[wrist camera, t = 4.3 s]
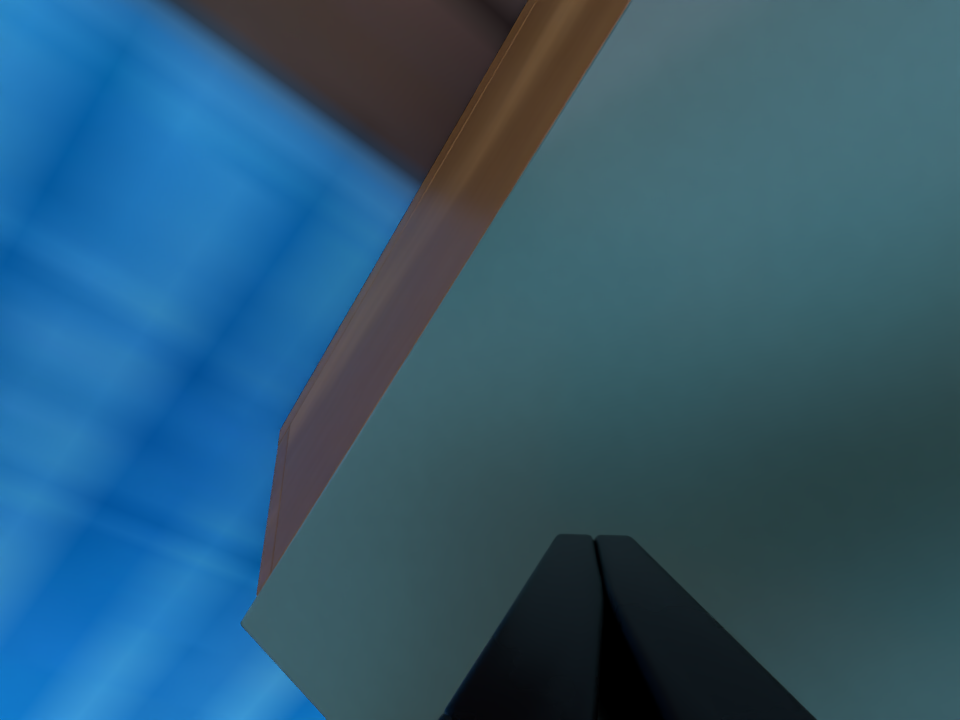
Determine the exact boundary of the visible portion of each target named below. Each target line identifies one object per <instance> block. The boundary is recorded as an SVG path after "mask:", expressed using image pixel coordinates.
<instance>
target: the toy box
mask: <svg viewBox="0 0 960 720" xmlns="http://www.w3.org/2000/svg"><path fill="white" fill-rule="evenodd" d="M630 1H631V0H528V1H527V3H526V5H525V7H524V8H523V10H522V12H521V13H520V15H519V17H518V19H517V20H516V22H515V24H514V26H513V27H512V29H511V31H510V33H509V34H508V36H507V38H506V39H505V41H504V43H503V45H502V46H501V48H500V50H499V52H498V53H497V55H496V57H495V59H494V60H493V62H492V64H491V65H490V67H489V69H488V71H487V72H486V74H485V76H484V78H483V79H482V81H481V83H480V85H479V86H478V88H477V90H476V91H475V93H474V95H473V97H472V98H471V100H470V102H469V104H468V105H467V107H466V109H465V111H464V112H463V114H462V116H461V117H460V119H459V121H458V123H457V124H456V126H455V128H454V130H453V131H452V133H451V135H450V136H449V138H448V140H447V142H446V143H445V145H444V147H443V149H442V150H441V152H440V154H439V156H438V157H437V159H436V161H435V162H434V164H433V166H432V168H431V169H430V171H429V173H428V175H427V176H426V178H425V180H424V182H423V183H422V185H421V187H420V188H419V190H418V192H417V194H416V195H415V197H414V199H413V201H412V202H411V204H410V206H409V208H408V209H407V211H406V213H405V214H404V216H403V218H402V220H401V221H400V223H399V225H398V227H397V228H396V230H395V232H394V234H393V235H392V237H391V239H390V240H389V242H388V244H387V246H386V247H385V249H384V251H383V253H382V254H381V256H380V258H379V260H378V261H377V263H376V265H375V266H374V268H373V270H372V272H371V273H370V275H369V277H368V279H367V280H366V282H365V284H364V286H363V287H362V289H361V291H360V292H359V294H358V296H357V298H356V299H355V301H354V303H353V305H352V306H351V308H350V310H349V312H348V313H347V315H346V317H345V318H344V320H343V322H342V324H341V325H340V327H339V329H338V331H337V332H336V334H335V336H334V338H333V339H332V341H331V343H330V344H329V346H328V348H327V350H326V351H325V353H324V355H323V357H322V358H321V360H320V362H319V363H318V365H317V367H316V369H315V370H314V372H313V374H312V376H311V377H310V379H309V381H308V383H307V384H306V386H305V388H304V389H303V391H302V393H301V395H300V396H299V398H298V400H297V402H296V403H295V405H294V407H293V409H292V410H291V412H290V414H289V415H288V417H287V419H286V421H285V422H284V424H283V426H282V428H281V429H280V434H279V441H278V449H277V456H276V463H275V470H274V477H273V484H272V491H271V498H270V505H269V511H268V518H267V525H266V532H265V539H264V546H263V553H262V560H261V567H260V574H259V580H258V587H257V596H258V594H259V592H260V591H261V589H262V588H263V586H264V584H265V583H266V581H267V580H268V578H269V576H270V575H271V573H272V572H273V570H274V568H275V567H276V565H277V564H278V562H279V560H280V559H281V557H282V556H283V554H284V552H285V551H286V549H287V548H288V546H289V544H290V543H291V541H292V540H293V538H294V537H295V535H296V533H297V532H298V530H299V529H300V527H301V525H302V524H303V522H304V521H305V519H306V517H307V516H308V514H309V513H310V511H311V509H312V508H313V506H314V505H315V503H316V501H317V500H318V498H319V497H320V495H321V493H322V492H323V490H324V489H325V487H326V486H327V484H328V482H329V481H330V479H331V478H332V476H333V474H334V473H335V471H336V470H337V468H338V466H339V465H340V463H341V462H342V460H343V458H344V457H345V455H346V454H347V452H348V450H349V449H350V447H351V446H352V444H353V442H354V441H355V439H356V438H357V436H358V434H359V433H360V431H361V430H362V428H363V427H364V425H365V423H366V422H367V420H368V419H369V417H370V415H371V414H372V412H373V411H374V409H375V407H376V406H377V404H378V403H379V401H380V399H381V398H382V396H383V395H384V393H385V391H386V390H387V388H388V387H389V385H390V383H391V382H392V380H393V379H394V377H395V376H396V374H397V372H398V371H399V369H400V368H401V366H402V364H403V363H404V361H405V360H406V358H407V356H408V355H409V353H410V352H411V350H412V348H413V347H414V345H415V344H416V342H417V340H418V339H419V337H420V336H421V334H422V332H423V331H424V329H425V328H426V326H427V324H428V323H429V321H430V320H431V318H432V317H433V315H434V313H435V312H436V310H437V309H438V307H439V305H440V304H441V302H442V301H443V299H444V297H445V296H446V294H447V293H448V291H449V289H450V288H451V286H452V285H453V283H454V281H455V280H456V278H457V277H458V275H459V273H460V272H461V270H462V269H463V267H464V266H465V264H466V262H467V261H468V259H469V258H470V256H471V254H472V253H473V251H474V250H475V248H476V246H477V245H478V243H479V242H480V240H481V238H482V237H483V235H484V234H485V232H486V230H487V229H488V227H489V226H490V224H491V222H492V221H493V219H494V218H495V216H496V214H497V213H498V211H499V210H500V208H501V207H502V205H503V203H504V202H505V200H506V199H507V197H508V195H509V194H510V192H511V191H512V189H513V187H514V186H515V184H516V183H517V181H518V179H519V178H520V176H521V175H522V173H523V171H524V170H525V168H526V167H527V165H528V163H529V162H530V160H531V159H532V157H533V156H534V154H535V152H536V151H537V149H538V148H539V146H540V144H541V143H542V141H543V140H544V138H545V136H546V135H547V133H548V132H549V130H550V128H551V127H552V125H553V124H554V122H555V120H556V119H557V117H558V116H559V114H560V112H561V111H562V109H563V108H564V106H565V104H566V103H567V101H568V100H569V98H570V97H571V95H572V93H573V92H574V90H575V89H576V87H577V85H578V84H579V82H580V81H581V79H582V77H583V76H584V74H585V73H586V71H587V69H588V68H589V66H590V65H591V63H592V61H593V60H594V58H595V57H596V55H597V53H598V52H599V50H600V49H601V47H602V46H603V44H604V42H605V41H606V39H607V38H608V36H609V34H610V33H611V31H612V30H613V28H614V26H615V25H616V23H617V22H618V20H619V18H620V17H621V15H622V14H623V12H624V10H625V9H626V7H627V6H628V4H629V2H630Z"/></svg>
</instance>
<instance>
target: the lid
mask: <svg viewBox="0 0 960 720" xmlns="http://www.w3.org/2000/svg"><path fill="white" fill-rule="evenodd" d="M558 534H587V535H590V536H592V538H593V539H595V537H596V536H598V535H627V536H630V537H632V538H633V539H634V540H635V541H636V542H637V543H638V544H639V545H640V546H641V547H642V548H643V549H644V550H645V551H646V552H647V553H648V554H649V555H650V556H652V557H653V558H654V559H655V560H656V561H657V562H658V563H659V564H660V565H661V566H662V567H663V568H664V569H665V570H666V571H667V572H668V573H669V574H670V575H671V576H672V577H673V578H674V579H675V580H676V581H677V582H678V583H679V584H680V585H681V586H682V587H683V588H684V589H685V590H686V591H687V592H688V593H689V594H690V595H691V596H692V597H693V598H694V599H695V600H696V601H697V602H698V603H699V604H700V605H701V606H702V607H703V608H704V609H705V610H706V611H707V612H708V613H709V614H710V615H711V616H712V617H713V618H714V619H715V620H716V621H718V622H719V623H720V624H721V625H722V626H723V627H724V628H725V629H726V630H727V631H728V632H729V633H730V634H731V635H732V636H733V637H734V638H735V639H736V640H737V641H738V642H739V643H740V644H741V645H742V646H743V647H744V648H745V649H746V650H747V651H748V652H749V653H750V654H751V655H752V656H753V657H754V658H755V659H756V660H757V661H758V662H759V663H760V664H761V665H762V666H763V667H764V668H765V669H766V670H767V671H768V672H769V673H770V674H771V675H772V676H773V677H774V678H775V679H776V680H777V681H778V682H779V683H780V684H781V685H782V686H784V687H785V688H786V689H787V690H788V691H789V692H790V693H791V694H792V695H793V696H794V697H795V698H796V699H797V700H798V701H799V702H800V703H801V704H802V705H803V706H804V707H805V708H806V709H807V710H808V711H809V712H810V713H811V714H812V715H813V716H814V717H815V718H816V719H817V720H960V0H631V1H630V2H629V4H628V6H627V7H626V9H625V10H624V12H623V14H622V15H621V17H620V18H619V20H618V22H617V23H616V25H615V26H614V28H613V30H612V31H611V33H610V34H609V36H608V38H607V39H606V41H605V42H604V44H603V46H602V47H601V49H600V50H599V52H598V53H597V55H596V57H595V58H594V60H593V61H592V63H591V65H590V66H589V68H588V69H587V71H586V73H585V74H584V76H583V77H582V79H581V81H580V82H579V84H578V85H577V87H576V89H575V90H574V92H573V93H572V95H571V97H570V98H569V100H568V101H567V103H566V104H565V106H564V108H563V109H562V111H561V112H560V114H559V116H558V117H557V119H556V120H555V122H554V124H553V125H552V127H551V128H550V130H549V132H548V133H547V135H546V136H545V138H544V140H543V141H542V143H541V144H540V146H539V148H538V149H537V151H536V152H535V154H534V156H533V157H532V159H531V160H530V162H529V163H528V165H527V167H526V168H525V170H524V171H523V173H522V175H521V176H520V178H519V179H518V181H517V183H516V184H515V186H514V187H513V189H512V191H511V192H510V194H509V195H508V197H507V199H506V200H505V202H504V203H503V205H502V207H501V208H500V210H499V211H498V213H497V214H496V216H495V218H494V219H493V221H492V222H491V224H490V226H489V227H488V229H487V230H486V232H485V234H484V235H483V237H482V238H481V240H480V242H479V243H478V245H477V246H476V248H475V250H474V251H473V253H472V254H471V256H470V258H469V259H468V261H467V262H466V264H465V266H464V267H463V269H462V270H461V272H460V273H459V275H458V277H457V278H456V280H455V281H454V283H453V285H452V286H451V288H450V289H449V291H448V293H447V294H446V296H445V297H444V299H443V301H442V302H441V304H440V305H439V307H438V309H437V310H436V312H435V313H434V315H433V317H432V318H431V320H430V321H429V323H428V324H427V326H426V328H425V329H424V331H423V332H422V334H421V336H420V337H419V339H418V340H417V342H416V344H415V345H414V347H413V348H412V350H411V352H410V353H409V355H408V356H407V358H406V360H405V361H404V363H403V364H402V366H401V368H400V369H399V371H398V372H397V374H396V376H395V377H394V379H393V380H392V382H391V383H390V385H389V387H388V388H387V390H386V391H385V393H384V395H383V396H382V398H381V399H380V401H379V403H378V404H377V406H376V407H375V409H374V411H373V412H372V414H371V415H370V417H369V419H368V420H367V422H366V423H365V425H364V427H363V428H362V430H361V431H360V433H359V434H358V436H357V438H356V439H355V441H354V442H353V444H352V446H351V447H350V449H349V450H348V452H347V454H346V455H345V457H344V458H343V460H342V462H341V463H340V465H339V466H338V468H337V470H336V471H335V473H334V474H333V476H332V478H331V479H330V481H329V482H328V484H327V486H326V487H325V489H324V490H323V492H322V493H321V495H320V497H319V498H318V500H317V501H316V503H315V505H314V506H313V508H312V509H311V511H310V513H309V514H308V516H307V517H306V519H305V521H304V522H303V524H302V525H301V527H300V529H299V530H298V532H297V533H296V535H295V537H294V538H293V540H292V541H291V543H290V544H289V546H288V548H287V549H286V551H285V552H284V554H283V556H282V557H281V559H280V560H279V562H278V564H277V565H276V567H275V568H274V570H273V572H272V573H271V575H270V576H269V578H268V580H267V581H266V583H265V584H264V586H263V588H262V589H261V591H260V592H259V594H258V596H257V597H256V599H255V600H254V602H253V603H252V605H251V607H250V608H249V610H248V611H247V613H246V615H245V616H244V618H243V619H242V621H241V626H242V627H243V628H244V629H245V630H246V631H247V632H248V634H249V635H250V636H251V637H252V638H253V639H254V640H255V641H256V642H257V643H258V644H259V646H260V647H261V648H262V649H263V650H264V651H265V652H266V653H267V654H268V655H269V657H270V658H271V659H272V660H273V661H274V662H275V663H276V664H277V665H278V666H279V668H280V669H281V670H282V671H283V672H284V673H285V674H286V675H287V676H288V677H289V679H290V680H291V681H292V682H293V683H294V684H295V685H296V686H297V687H298V688H299V689H300V691H301V692H302V693H303V694H304V695H305V696H306V697H307V698H308V699H309V700H310V702H311V703H312V704H313V705H314V706H315V707H316V708H317V709H318V710H319V711H320V713H321V714H322V715H323V716H324V717H325V718H326V719H327V720H438V718H439V717H440V716H441V715H442V714H444V710H445V708H446V707H447V705H448V703H449V702H450V700H451V699H452V697H453V696H454V694H455V693H456V691H457V689H458V688H459V686H460V685H461V683H462V682H463V680H464V678H465V677H466V675H467V674H468V672H469V671H470V669H471V668H472V666H473V664H474V663H475V661H476V660H477V658H478V657H479V655H480V654H481V652H482V650H483V649H484V647H485V646H486V644H487V643H488V641H489V639H490V638H491V636H492V635H493V633H494V632H495V630H496V629H497V627H498V625H499V624H500V622H501V621H502V619H503V618H504V616H505V615H506V613H507V611H508V610H509V608H510V607H511V605H512V604H513V602H514V600H515V599H516V597H517V596H518V594H519V593H520V591H521V590H522V588H523V586H524V585H525V583H526V582H527V580H528V579H529V577H530V576H531V574H532V572H533V571H534V569H535V568H536V566H537V565H538V563H539V561H540V560H541V558H542V557H543V555H544V554H545V552H546V551H547V549H548V547H549V546H550V544H551V543H552V541H553V540H554V538H555V537H556V536H557V535H558Z"/></svg>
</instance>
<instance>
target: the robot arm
mask: <svg viewBox="0 0 960 720" xmlns="http://www.w3.org/2000/svg"><path fill="white" fill-rule="evenodd" d="M438 720H817V719H816V718H815V717H814V716H813V715H812V714H811V713H810V712H809V711H808V710H807V709H806V708H805V707H804V706H803V705H802V704H801V703H800V702H799V701H798V700H797V699H796V698H795V697H794V696H793V695H792V694H791V693H790V692H789V691H788V690H787V689H786V688H785V687H784V686H782V685H781V684H780V683H779V682H778V681H777V680H776V679H775V678H774V677H773V676H772V675H771V674H770V673H769V672H768V671H767V670H766V669H765V668H764V667H763V666H762V665H761V664H760V663H759V662H758V661H757V660H756V659H755V658H754V657H753V656H752V655H751V654H750V653H749V652H748V651H747V650H746V649H745V648H744V647H743V646H742V645H741V644H740V643H739V642H738V641H737V640H736V639H735V638H734V637H733V636H732V635H731V634H730V633H729V632H728V631H727V630H726V629H725V628H724V627H723V626H722V625H721V624H720V623H719V622H718V621H716V620H715V619H714V618H713V617H712V616H711V615H710V614H709V613H708V612H707V611H706V610H705V609H704V608H703V607H702V606H701V605H700V604H699V603H698V602H697V601H696V600H695V599H694V598H693V597H692V596H691V595H690V594H689V593H688V592H687V591H686V590H685V589H684V588H683V587H682V586H681V585H680V584H679V583H678V582H677V581H676V580H675V579H674V578H673V577H672V576H671V575H670V574H669V573H668V572H667V571H666V570H665V569H664V568H663V567H662V566H661V565H660V564H659V563H658V562H657V561H656V560H655V559H654V558H653V557H652V556H650V555H649V554H648V553H647V552H646V551H645V550H644V549H643V548H642V547H641V546H640V545H639V544H638V543H637V542H636V541H635V540H634V539H633V538H632V537H630V536H627V535H598V536H596V537H595V539H593V538H592V536H590V535H587V534H558V535H557V536H556V537H555V538H554V540H553V541H552V543H551V544H550V546H549V547H548V549H547V551H546V552H545V554H544V555H543V557H542V558H541V560H540V561H539V563H538V565H537V566H536V568H535V569H534V571H533V572H532V574H531V576H530V577H529V579H528V580H527V582H526V583H525V585H524V586H523V588H522V590H521V591H520V593H519V594H518V596H517V597H516V599H515V600H514V602H513V604H512V605H511V607H510V608H509V610H508V611H507V613H506V615H505V616H504V618H503V619H502V621H501V622H500V624H499V625H498V627H497V629H496V630H495V632H494V633H493V635H492V636H491V638H490V639H489V641H488V643H487V644H486V646H485V647H484V649H483V650H482V652H481V654H480V655H479V657H478V658H477V660H476V661H475V663H474V664H473V666H472V668H471V669H470V671H469V672H468V674H467V675H466V677H465V678H464V680H463V682H462V683H461V685H460V686H459V688H458V689H457V691H456V693H455V694H454V696H453V697H452V699H451V700H450V702H449V703H448V705H447V707H446V708H445V710H444V714H442V715H441V716H440V717H439V718H438Z"/></svg>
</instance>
